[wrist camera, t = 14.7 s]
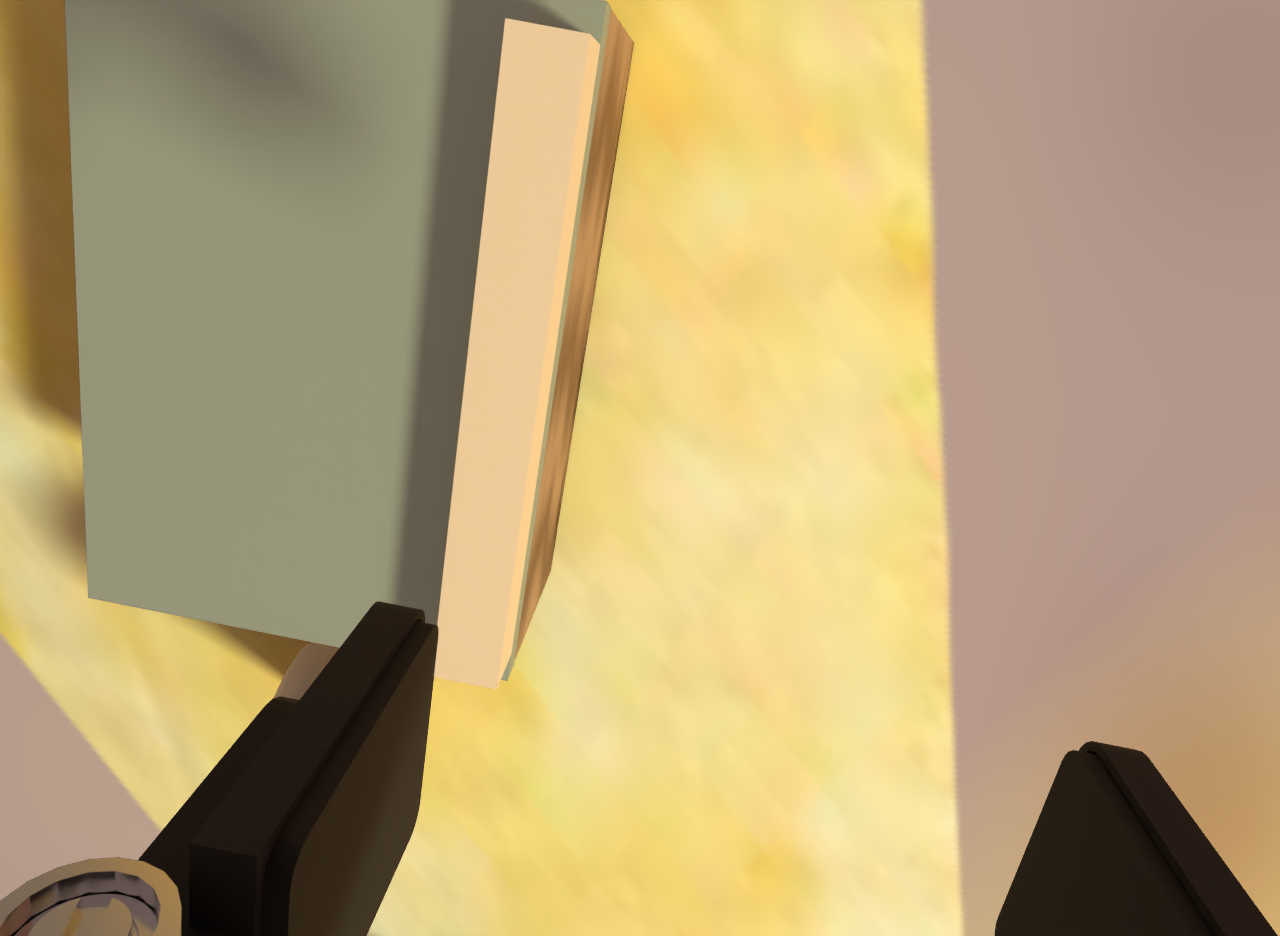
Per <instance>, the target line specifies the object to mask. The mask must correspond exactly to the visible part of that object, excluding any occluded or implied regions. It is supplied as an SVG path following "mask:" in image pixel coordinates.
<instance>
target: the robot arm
mask: <svg viewBox="0 0 1280 936" xmlns="http://www.w3.org/2000/svg"><path fill="white" fill-rule="evenodd" d="M438 634H439V630H438V626H437V625H434V624H429V623H425V613H424V611H423V610H421V609H416V608H411V607H406V606H401V605H396V604H391V603H386V602H381V601H377V602H375V603H374V604H373V605H372V606H371V608H370V609H369V610H368V612H367V613H366V614H365V615H364V617H363V618H362V619H361V621H360V622H359V623H358V624H357V626H356V627H355V628H354V630H353V631H352V632H351V634H350V635H349V636H348V637H347V639H346V640H345V641H344V643H343V644H342V645H341V647H340V648H339V649H338V650H337V652H336V653H335V654H334V656H333V657H332V658H331V660H330V661H329V662H328V663H327V665H326V666H325V667H324V669H323V670H322V671H321V673H320V674H319V675H318V676H317V678H316V679H315V680H314V682H313V683H312V684H311V686H310V687H309V688H308V689H307V691H306V692H305V693H304V695H303V696H302V697H301V699H300V700H296V699H291V698H286V697H281V696H279V697H276V698H273V699H272V700H271V701H270V702H269V703H268V704H267V705H266V706H265V707H264V708H263V709H262V710H261V711H260V713H259V714H258V715H257V716H256V717H255V719H254V720H253V721H252V722H251V724H250V725H249V726H248V727H247V728H246V730H245V731H244V732H243V733H242V734H241V736H240V737H239V738H238V739H237V741H236V742H235V743H234V744H233V745H232V747H231V748H230V749H229V750H228V751H227V753H226V754H225V755H224V756H223V758H222V759H221V760H220V761H219V762H218V764H217V765H216V766H215V767H214V768H213V770H212V771H211V772H210V773H209V774H208V776H207V777H206V778H205V779H204V781H203V782H202V783H201V784H200V785H199V787H198V788H197V789H196V790H195V791H194V793H193V794H192V795H191V796H190V798H189V799H188V800H187V801H186V802H185V804H184V805H183V806H182V807H181V808H180V810H179V811H178V812H177V813H176V815H175V816H174V817H173V818H172V819H171V821H170V822H169V823H168V824H167V825H166V827H165V828H164V829H163V830H162V831H161V833H160V834H159V835H158V836H157V838H156V839H155V840H154V841H153V842H152V844H151V845H150V846H149V847H148V848H147V850H146V851H145V852H144V853H143V855H142V856H141V857H140V858H139V860H132V859H126V858H120V857H116V858H100V859H88V860H84V861H80V862H77V863H73V864H69V865H66V866H61V867H58V868H55V869H53V870H51V871H49V872H47V873H45V874H42V875H41V876H38V877H36V878H34V879H32V880H30V881H27V882H26V883H25V884H23V885H22V886H20V887H19V888H18V889H16V890H15V891H13V892H12V893H11V894H9V895H8V896H6V897H5V898H4V899H2V900H1V901H0V936H367V933H368V931H369V929H370V927H371V925H372V922H373V920H374V918H375V916H376V913H377V911H378V909H379V907H380V904H381V902H382V900H383V898H384V896H385V893H386V891H387V889H388V887H389V884H390V882H391V880H392V878H393V876H394V873H395V871H396V869H397V867H398V864H399V862H400V860H401V858H402V856H403V853H404V851H405V849H406V847H407V844H408V842H409V840H410V838H411V835H412V833H413V830H414V827H415V823H416V820H417V816H418V811H419V805H420V798H421V789H422V780H423V771H424V762H425V753H426V744H427V735H428V726H429V717H430V708H431V699H432V690H433V681H434V672H435V663H436V654H437V645H438ZM995 936H1278V935H1277V934H1276V933H1275V931H1274V930H1273V929H1272V927H1271V926H1270V924H1269V923H1268V922H1267V920H1266V919H1265V918H1264V916H1263V915H1262V913H1261V912H1260V911H1259V909H1258V908H1257V907H1256V905H1255V904H1254V902H1253V901H1252V900H1251V898H1250V897H1249V896H1248V894H1247V893H1246V891H1245V890H1244V889H1243V887H1242V886H1241V884H1240V883H1239V882H1238V881H1237V879H1236V878H1235V876H1234V875H1233V873H1232V872H1231V871H1230V869H1229V868H1228V867H1227V865H1226V864H1225V862H1224V861H1223V860H1222V858H1221V857H1220V856H1219V854H1218V853H1217V852H1216V850H1215V849H1214V847H1213V846H1212V845H1211V843H1210V842H1209V840H1208V839H1207V838H1206V836H1205V835H1204V833H1202V831H1201V829H1200V828H1199V827H1198V825H1197V824H1196V822H1195V821H1194V820H1193V818H1192V817H1191V816H1190V814H1189V813H1188V811H1187V810H1186V809H1185V808H1184V806H1183V805H1182V803H1181V802H1180V800H1179V799H1178V798H1177V796H1176V795H1175V794H1174V792H1173V791H1172V790H1171V788H1170V787H1169V785H1168V784H1167V783H1166V781H1165V780H1164V778H1163V777H1162V776H1161V774H1160V773H1159V772H1158V770H1157V769H1156V768H1155V766H1154V765H1153V763H1152V762H1151V761H1150V759H1149V758H1148V757H1147V756H1146V755H1145V754H1144V753H1143V752H1141V751H1138V750H1134V749H1129V748H1124V747H1119V746H1114V745H1109V744H1103V743H1098V742H1093V741H1090V742H1087V743H1085V744H1084V745H1083V746H1082V747H1081V748H1080V749H1079V751H1075V750H1073V751H1069V752H1068V753H1067V754H1066V755H1065V757H1064V758H1063V760H1062V762H1061V765H1060V767H1059V770H1058V772H1057V775H1056V777H1055V780H1054V782H1053V784H1052V787H1051V789H1050V792H1049V794H1048V797H1047V799H1046V801H1045V804H1044V807H1043V809H1042V811H1041V814H1040V816H1039V819H1038V821H1037V824H1036V826H1035V828H1034V831H1033V833H1032V836H1031V838H1030V841H1029V843H1028V845H1027V848H1026V850H1025V853H1024V855H1023V858H1022V860H1021V863H1020V865H1019V868H1018V870H1017V872H1016V875H1015V878H1014V880H1013V882H1012V885H1011V887H1010V889H1009V892H1008V895H1007V897H1006V900H1005V902H1004V904H1003V907H1002V909H1001V912H1000V914H999V917H998V919H997V923H996V928H995Z"/></svg>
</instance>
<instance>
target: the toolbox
mask: <svg viewBox="0 0 1280 936" xmlns="http://www.w3.org/2000/svg"><path fill="white" fill-rule="evenodd" d="M633 45H634V43H633V41H632V40H631V38H630V37H629V35H628V34H627V32H626V31H625V29H624V28H623V26H622V25H621V23H620V22H619V20H618V19H617V17H616V16H615V14H614V12H613V11H612V9H611V12H610V19H609V26H608V32H607V39H606V46H605V53H604V59H603V66H602V73H601V80H600V86H599V93H598V100H597V107H596V113H595V120H594V127H593V134H592V140H591V147H590V154H589V161H588V167H587V174H586V181H585V188H584V195H583V201H582V208H581V215H580V222H579V228H578V235H577V242H576V249H575V255H574V262H573V269H572V276H571V282H570V289H569V296H568V303H567V309H566V316H565V323H564V330H563V336H562V343H561V350H560V357H559V363H558V370H557V377H556V384H555V390H554V397H553V404H552V411H551V418H550V424H549V431H548V438H547V445H546V451H545V458H544V465H543V472H542V478H541V485H540V492H539V499H538V505H537V512H536V519H535V526H534V532H533V539H532V546H531V553H530V559H529V566H528V573H527V580H526V586H525V593H524V600H523V607H522V613H521V620H520V627H519V634H518V641H517V647H516V654H515V659H516V656H517V654H518V651H519V649H520V646H521V644H522V641H523V639H524V636H525V634H526V631H527V629H528V626H529V624H530V621H531V619H532V616H533V614H534V611H535V609H536V606H537V604H538V601H539V599H540V596H541V594H542V591H543V589H544V586H545V584H546V581H547V579H548V576H549V574H550V571H551V565H552V559H553V553H554V546H555V540H556V534H557V527H558V521H559V515H560V508H561V502H562V496H563V489H564V483H565V477H566V470H567V464H568V458H569V451H570V445H571V439H572V432H573V426H574V420H575V413H576V407H577V401H578V394H579V388H580V382H581V375H582V369H583V363H584V356H585V350H586V344H587V337H588V331H589V325H590V318H591V312H592V305H593V299H594V293H595V286H596V280H597V274H598V267H599V261H600V255H601V248H602V242H603V236H604V229H605V223H606V217H607V210H608V204H609V198H610V191H611V185H612V179H613V172H614V166H615V160H616V153H617V147H618V141H619V134H620V128H621V122H622V115H623V109H624V103H625V96H626V90H627V84H628V77H629V71H630V65H631V58H632V52H633Z"/></svg>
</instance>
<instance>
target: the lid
mask: <svg viewBox="0 0 1280 936" xmlns="http://www.w3.org/2000/svg"><path fill="white" fill-rule="evenodd" d="M610 12H611V7H610V5H609V4H608V2H607V1H604V0H65V20H66V46H67V71H68V96H69V122H70V147H71V173H72V198H73V223H74V249H75V274H76V300H77V325H78V350H79V376H80V401H81V427H82V452H83V477H84V503H85V528H86V554H87V579H88V598H92V599H97V600H102V601H107V602H112V603H117V604H122V605H127V606H132V607H137V608H142V609H147V610H152V611H157V612H162V613H167V614H172V615H177V616H182V617H187V618H192V619H198V620H203V621H208V622H213V623H218V624H223V625H228V626H233V627H238V628H243V629H248V630H253V631H258V632H263V633H268V634H273V635H278V636H283V637H288V638H293V639H298V640H304V641H309V642H314V643H319V644H324V645H329V646H334V647H339V648H340V647H341V645H342V644H343V643H344V641H345V640H346V639H347V637H348V636H349V635H350V634H351V632H352V631H353V630H354V628H355V627H356V626H357V624H358V623H359V622H360V621H361V619H362V618H363V617H364V615H365V614H366V613H367V612H368V610H369V609H370V608H371V606H372V605H373V604H374V603H375V602H377V601H381V602H386V603H391V604H396V605H401V606H406V607H411V608H416V609H421V610H423V611H424V613H425V623H429V624H434V625H437V626H438V630H439V634H438V645H437V654H436V663H435V672H434V677H436V678H441V679H446V680H451V681H457V682H462V683H467V684H472V685H477V686H482V687H487V688H492V689H497V688H498V685H499V683H500V681H501V680H505V681H508V678H509V676H510V673H511V671H512V668H513V666H514V661H515V654H516V647H517V641H518V634H519V627H520V620H521V613H522V607H523V600H524V593H525V586H526V580H527V573H528V566H529V559H530V553H531V546H532V539H533V532H534V526H535V519H536V512H537V505H538V499H539V492H540V485H541V478H542V472H543V465H544V458H545V451H546V445H547V438H548V431H549V424H550V418H551V411H552V404H553V397H554V390H555V384H556V377H557V370H558V363H559V357H560V350H561V343H562V336H563V330H564V323H565V316H566V309H567V303H568V296H569V289H570V282H571V276H572V269H573V262H574V255H575V249H576V242H577V235H578V228H579V222H580V215H581V208H582V201H583V195H584V188H585V181H586V174H587V167H588V161H589V154H590V147H591V140H592V134H593V127H594V120H595V113H596V107H597V100H598V93H599V86H600V80H601V73H602V66H603V59H604V53H605V46H606V39H607V32H608V26H609V19H610Z"/></svg>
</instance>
